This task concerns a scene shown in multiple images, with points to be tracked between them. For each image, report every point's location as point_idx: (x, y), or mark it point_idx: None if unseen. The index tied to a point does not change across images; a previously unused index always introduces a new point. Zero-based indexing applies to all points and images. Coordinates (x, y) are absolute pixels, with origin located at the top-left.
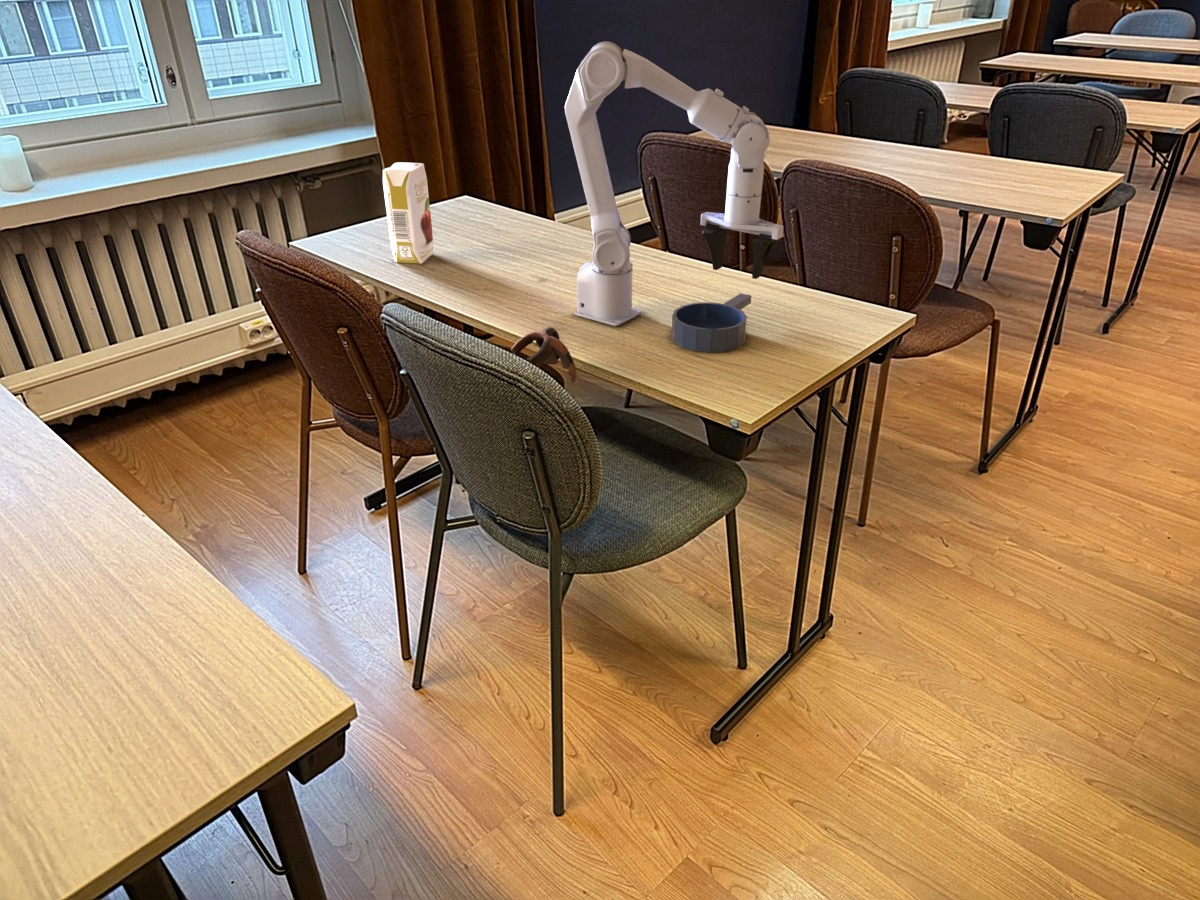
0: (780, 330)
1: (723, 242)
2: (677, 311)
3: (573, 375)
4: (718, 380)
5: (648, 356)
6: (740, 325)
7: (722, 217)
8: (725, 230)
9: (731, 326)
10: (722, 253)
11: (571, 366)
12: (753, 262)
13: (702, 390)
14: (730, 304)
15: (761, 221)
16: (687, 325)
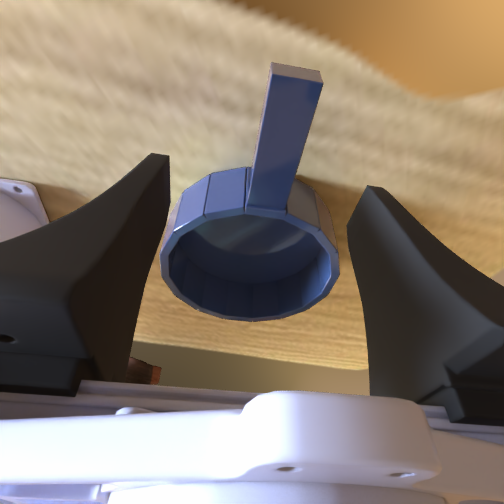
0: (423, 129)
1: (127, 242)
2: (171, 280)
3: (158, 375)
4: (316, 330)
5: (193, 312)
6: (330, 289)
7: (76, 490)
8: (97, 306)
9: (313, 300)
10: (148, 199)
11: (152, 384)
12: (360, 294)
13: (303, 348)
14: (271, 194)
15: (475, 478)
16: (229, 318)
